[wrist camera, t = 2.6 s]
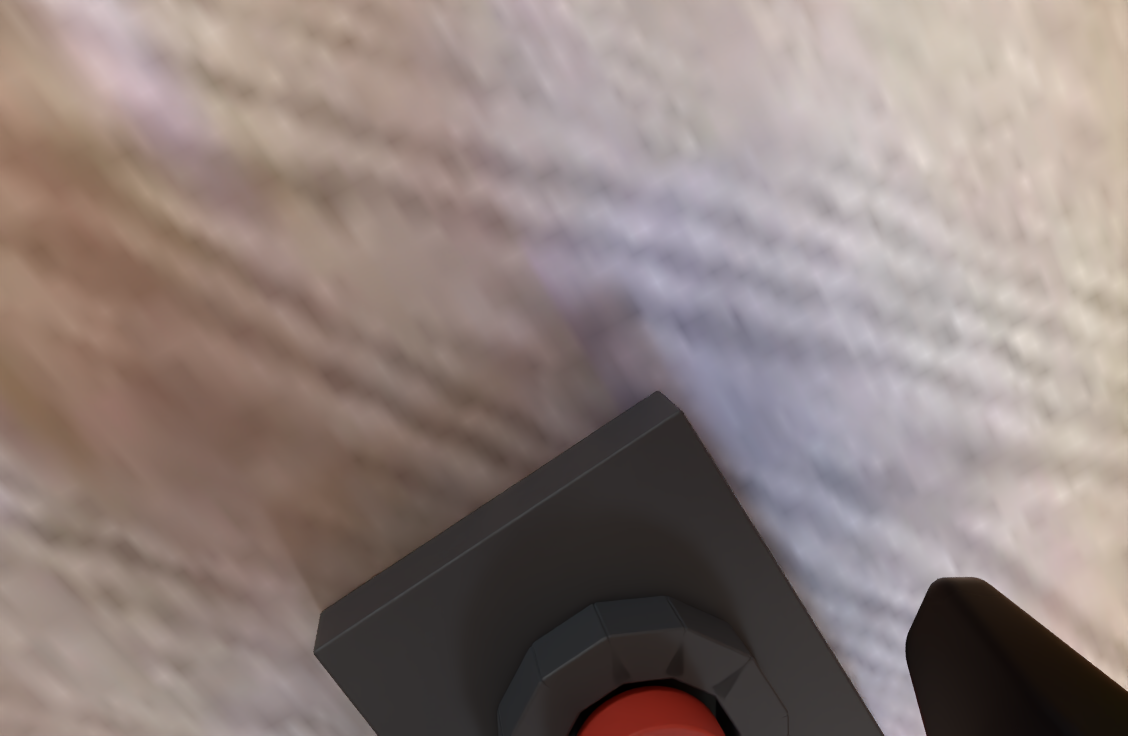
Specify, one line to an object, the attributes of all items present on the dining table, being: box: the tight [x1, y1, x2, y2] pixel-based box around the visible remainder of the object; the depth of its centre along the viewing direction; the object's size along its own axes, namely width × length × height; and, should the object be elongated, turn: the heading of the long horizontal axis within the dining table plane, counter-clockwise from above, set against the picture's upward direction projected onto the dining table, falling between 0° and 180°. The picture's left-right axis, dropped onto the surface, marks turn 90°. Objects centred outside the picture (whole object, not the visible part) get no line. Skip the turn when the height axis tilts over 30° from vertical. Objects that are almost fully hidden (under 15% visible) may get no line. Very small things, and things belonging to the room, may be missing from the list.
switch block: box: [313, 391, 884, 736], centre depth 25 cm, size 12×10×4 cm
